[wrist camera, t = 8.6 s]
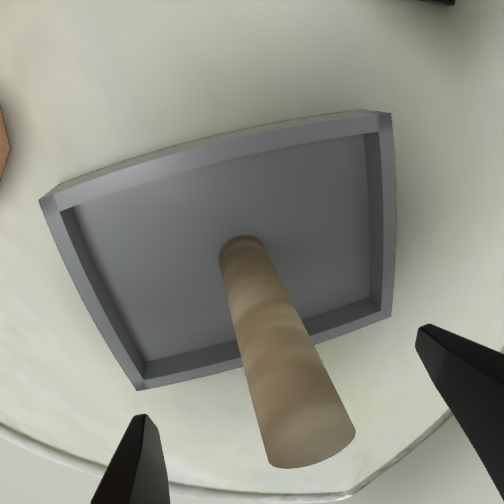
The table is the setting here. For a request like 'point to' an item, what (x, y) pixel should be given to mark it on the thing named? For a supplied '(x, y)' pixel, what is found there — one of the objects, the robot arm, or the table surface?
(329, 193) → the tray
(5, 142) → the cup
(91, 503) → the robot arm
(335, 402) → the dowel pin
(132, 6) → the table surface
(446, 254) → the table surface
